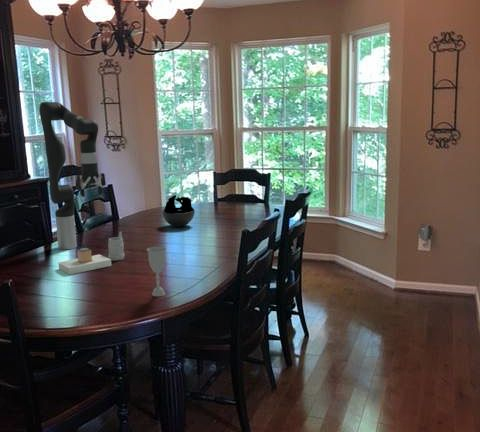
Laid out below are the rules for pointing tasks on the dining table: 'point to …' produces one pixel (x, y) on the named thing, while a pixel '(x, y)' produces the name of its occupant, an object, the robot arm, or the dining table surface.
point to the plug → (84, 255)
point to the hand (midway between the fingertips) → (91, 195)
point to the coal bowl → (178, 211)
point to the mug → (116, 248)
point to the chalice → (157, 266)
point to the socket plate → (84, 264)
